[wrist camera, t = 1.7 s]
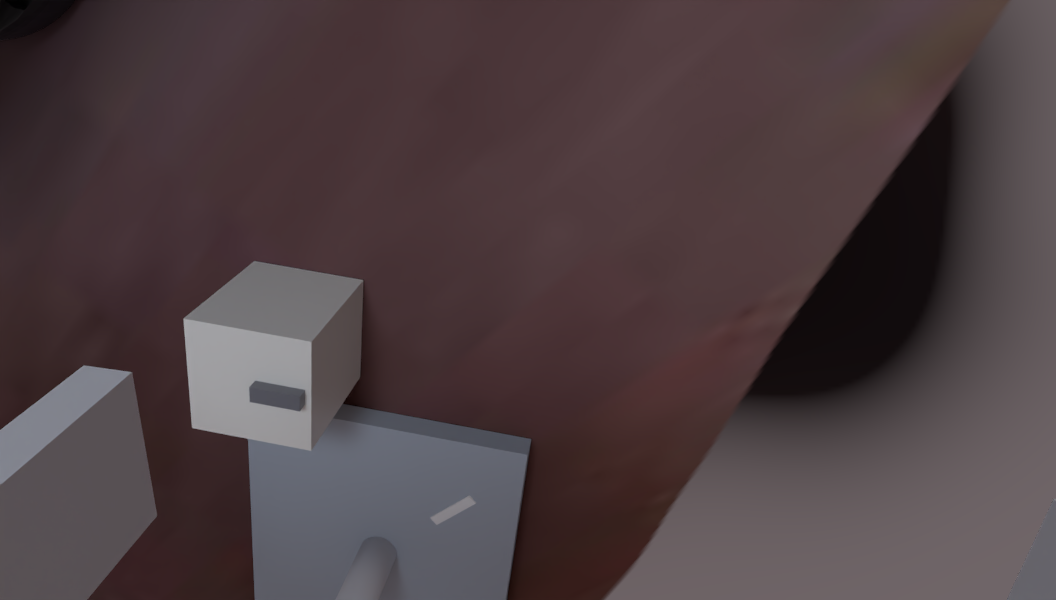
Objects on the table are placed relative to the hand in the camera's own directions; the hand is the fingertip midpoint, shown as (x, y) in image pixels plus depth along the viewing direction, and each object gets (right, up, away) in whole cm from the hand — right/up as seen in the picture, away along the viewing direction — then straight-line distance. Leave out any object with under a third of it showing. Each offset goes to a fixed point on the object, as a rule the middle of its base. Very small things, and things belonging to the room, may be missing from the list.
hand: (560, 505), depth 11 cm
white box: (-12, +2, +31) cm, 33 cm away
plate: (-9, -11, +37) cm, 39 cm away
